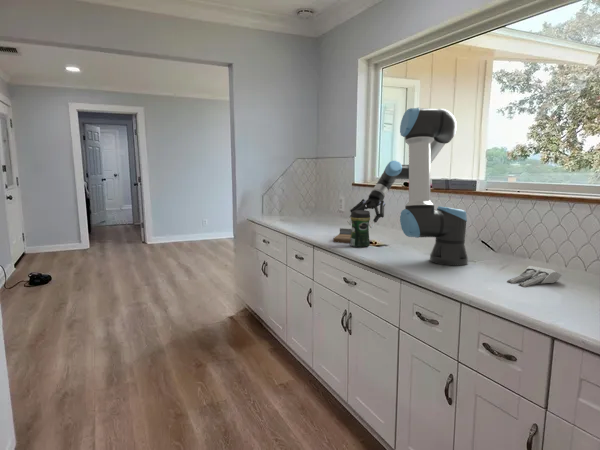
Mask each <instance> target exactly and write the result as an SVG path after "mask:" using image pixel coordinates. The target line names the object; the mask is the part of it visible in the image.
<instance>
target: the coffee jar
mask: <svg viewBox="0 0 600 450" xmlns="http://www.w3.org/2000/svg"><path fill="white" fill-rule="evenodd" d="M350 215H351V221H352V224H351V229H352V230H351V238H350V243H349V246H350V247H352V248H353V247H354V248H368V247H369V246H370V232H369V231H370V230H369V229H370V226H369V223H370V221H371V212H370V210H367V209H365V210H355V211H352V212H350Z"/></svg>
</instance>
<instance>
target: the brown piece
mask: <svg viewBox="0 0 600 450" xmlns="http://www.w3.org/2000/svg"><path fill="white" fill-rule="evenodd" d="M351 230H352V228H345V227H344V228H343V227H342V228H341V227H340V228H339V233H338V234H337V235H336V236H335V237H333V241H332V242H333V243H340V244H342V243H343V244H350V238H351Z"/></svg>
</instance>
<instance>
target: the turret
mask: <svg viewBox="0 0 600 450" xmlns="http://www.w3.org/2000/svg"><path fill="white" fill-rule="evenodd" d="M561 277H562V274H561V273H559V272H558V271H555V270H554V269H552V268H551V269H550V268H545V267H539V266H533V265H528V266H527V267H526V268H525V269H524V271H523V272H521V273H520V275H519V276H515V277H512V278H510V279H508V280H507V281H506V283H510V284H511V285H512V284H516V283H518V286H519V287H523V288H526V287H528V286H532V285H541V284H543V285H544V284H553V283H556V282H557V281H559V280H560V278H561ZM523 280H524V281H523ZM522 281H523V282H522ZM519 282H520V283H519Z"/></svg>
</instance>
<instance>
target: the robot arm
mask: <svg viewBox="0 0 600 450" xmlns="http://www.w3.org/2000/svg"><path fill="white" fill-rule="evenodd" d="M456 131H457V121H456V118H455V116H454V114H453V113H452V112H450V111H449V110H447V109H445V108H428V107H427V108H426V107H425V108H424V107H412V108H411V107H410V108H407V110H405V112H404V113H403V115H402V118H401V121H400V126H399V133H400V136H401V137H403V138H404V142H405V143H406V144H407V145H408V164H402V163H401V162H400V161H397V160H391V161H389V162H388V163H387V165H386V166H385V168H384V169H383V173H382V174H381V176H380V177H379V179H378V181H377V182H376V184H375V185H374V187H373V189H372V190H371V192H370V194H369V195H368V198H367V199H364V198H363V199H361V200H360V201H359V202H358V203H357V204H356V205H355V206H353V208H350V210H349V212H350V213H351V212H352V211H355V210H368V209H372V210H374V212H375V214H373V216H372V218H371V219H370V221H369V229H373V228H374V225H375V224H376V223H377V222H378V221H379V219H380V218H385V206H386V202H385V201H384V200H385V198H386V196H387V195H388V193H389V191H390V189H391V188H392V186H393V184H394V183H395V182H396V180H408V202H407V203H406V204H405V205H404V206H405V208H404V209H402V210H401V212H400V216H399V218H400V219H399V221H400V227H401V230H402V232H403V234H404V235H405V236H406V237H408V238H416V239H417V238H418V239H419V238H435V242H434V244H433V247H432V250H431V253H430V254H429V255H430V256H429V260H430V262H432V263H436V264H439V265H440V264H441V265H447V266H465V265H468V263H469V257H468V252H467V249H466V245H465V243H466V242H465V241H466V231H467V222H468V220H467V219H468V217H467V216H468V215H467V212H466V210H464V209H461V208H460V209H459V208H454V207H448V206H447V207H446V206H439V205H438V206H437V208H436V209H435V204H434V203H433V202H432V201H431V164H432V163H433V161H434V160H435V159H436V158H437V156H438V155H439V153H440V152H441V150H443V148H444V146H445V145H447V144H449V143H450V142H451V141H452V139H454V137H455V135H456V133H457V132H456ZM378 206H379V208H378ZM348 217H349V218H348V220H347V224H348V225H349V226H352V221H351V214H350V216H348Z"/></svg>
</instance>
